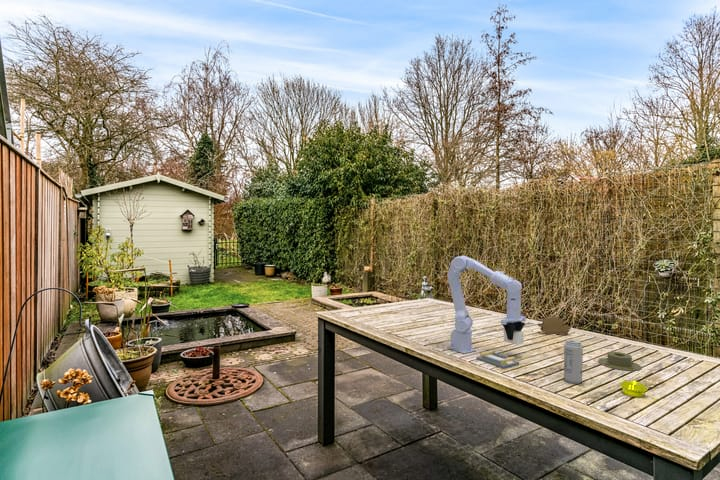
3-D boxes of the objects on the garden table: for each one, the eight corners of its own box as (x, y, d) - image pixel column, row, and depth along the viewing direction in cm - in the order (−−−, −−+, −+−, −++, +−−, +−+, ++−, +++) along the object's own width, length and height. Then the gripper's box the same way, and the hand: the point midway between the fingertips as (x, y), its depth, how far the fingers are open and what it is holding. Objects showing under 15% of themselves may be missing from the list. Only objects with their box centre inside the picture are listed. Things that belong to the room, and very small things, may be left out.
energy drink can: (584, 385, 141) (585, 343, 141) (566, 383, 142) (567, 342, 142) (578, 378, 147) (579, 339, 147) (561, 377, 148) (561, 338, 148)
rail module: (503, 341, 174) (503, 329, 173) (509, 339, 176) (509, 328, 176) (517, 344, 168) (517, 332, 168) (523, 343, 170) (523, 331, 170)
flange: (620, 348, 172) (590, 350, 169) (651, 359, 157) (618, 361, 155) (620, 359, 172) (590, 361, 170) (650, 371, 157) (618, 373, 155)
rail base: (476, 359, 169) (476, 352, 169) (491, 355, 175) (491, 349, 175) (503, 368, 158) (503, 362, 158) (519, 364, 163) (519, 357, 163)
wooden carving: (568, 334, 213) (568, 316, 213) (571, 336, 208) (571, 317, 208) (536, 332, 216) (536, 314, 216) (538, 334, 211) (538, 316, 211)
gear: (653, 398, 130) (635, 389, 138) (653, 387, 130) (636, 378, 138) (630, 398, 130) (613, 389, 138) (630, 387, 130) (614, 378, 138)
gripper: (511, 311, 164) (510, 343, 164) (532, 307, 172) (531, 338, 172) (497, 308, 170) (496, 339, 170) (518, 305, 178) (517, 335, 178)
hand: (513, 338), depth 172 cm, fingers closed on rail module, 4 cm apart
